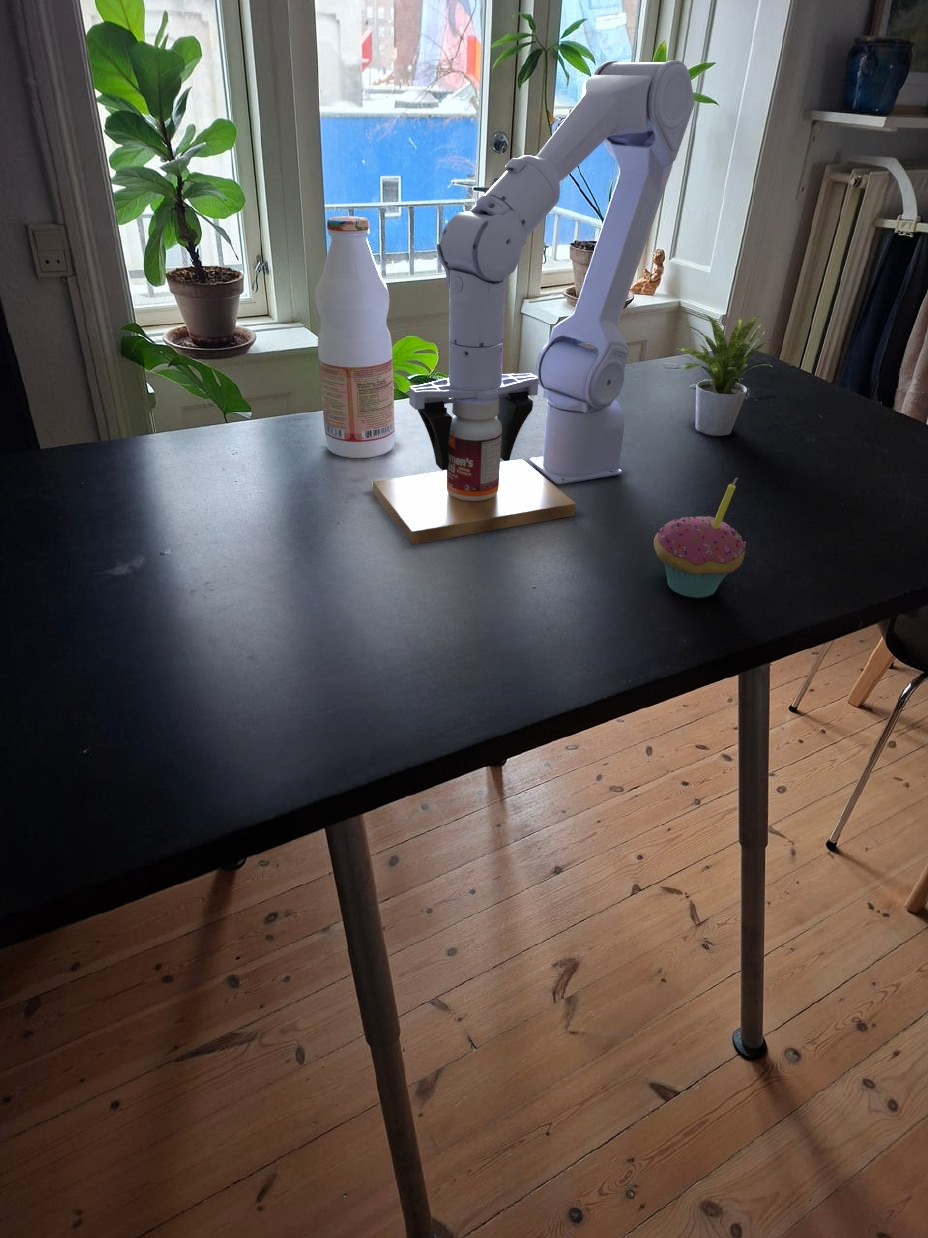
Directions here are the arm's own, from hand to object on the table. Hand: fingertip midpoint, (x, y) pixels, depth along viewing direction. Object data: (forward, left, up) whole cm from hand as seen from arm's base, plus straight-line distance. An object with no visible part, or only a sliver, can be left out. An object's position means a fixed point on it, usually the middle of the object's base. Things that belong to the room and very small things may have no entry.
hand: (473, 462), depth 92 cm
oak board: (0, 0, -5) cm, 5 cm away
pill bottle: (0, 0, -4) cm, 4 cm away
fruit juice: (+7, -22, -6) cm, 24 cm away
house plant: (-44, -12, -6) cm, 46 cm away
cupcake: (-13, +25, -6) cm, 29 cm away
